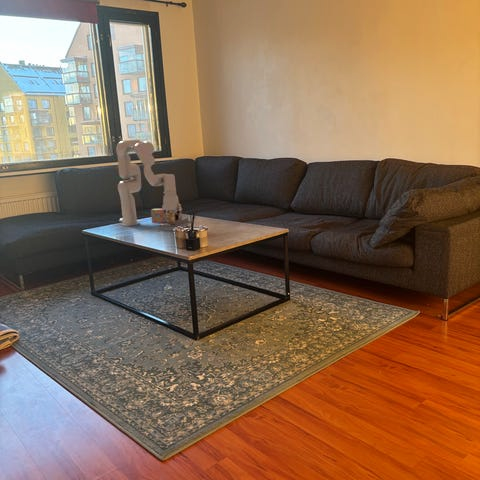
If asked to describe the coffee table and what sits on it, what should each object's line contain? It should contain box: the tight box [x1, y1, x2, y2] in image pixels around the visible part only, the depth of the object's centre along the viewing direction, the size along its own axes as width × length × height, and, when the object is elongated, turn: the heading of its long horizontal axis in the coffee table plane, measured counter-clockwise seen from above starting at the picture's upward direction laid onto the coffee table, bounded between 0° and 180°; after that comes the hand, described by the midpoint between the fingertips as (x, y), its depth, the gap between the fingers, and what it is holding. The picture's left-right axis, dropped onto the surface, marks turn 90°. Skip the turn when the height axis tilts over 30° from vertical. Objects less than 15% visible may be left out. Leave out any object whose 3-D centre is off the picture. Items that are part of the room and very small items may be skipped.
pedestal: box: [166, 212, 179, 224], centre depth 327 cm, size 6×6×7 cm
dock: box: [157, 217, 189, 232], centre depth 328 cm, size 14×16×6 cm
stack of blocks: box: [150, 203, 183, 223], centre depth 353 cm, size 21×6×12 cm, turn 77°
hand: (172, 219), depth 327 cm, fingers closed on pedestal, 5 cm apart
